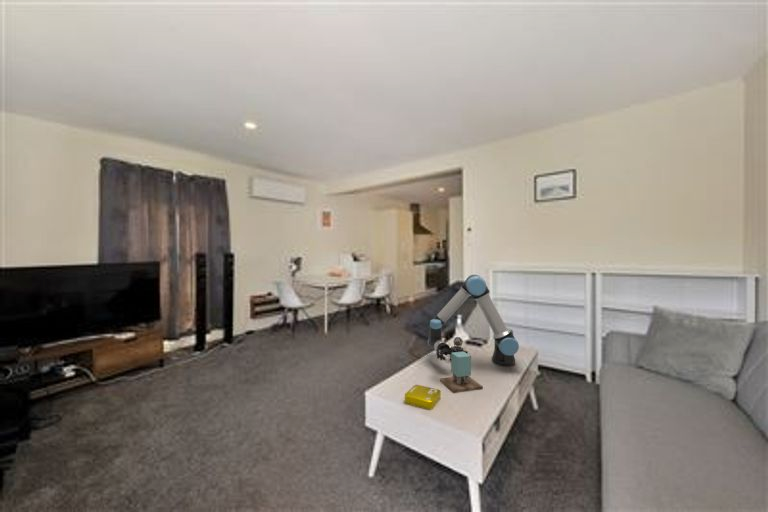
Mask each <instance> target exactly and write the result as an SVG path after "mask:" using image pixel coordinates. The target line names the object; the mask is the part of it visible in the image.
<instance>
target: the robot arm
mask: <svg viewBox="0 0 768 512" xmlns="http://www.w3.org/2000/svg"><path fill="white" fill-rule="evenodd" d="M490 292H491V291H490V289H489V288H488V286H487V283H486V280H484V278H483V277H481V276H480V275H478V274H471V275H469V276H468V277H467V278H466V279H465V280H464V282H463V283H462V285H461V286H460V289H459V290H458V291H457V292H456V293H455V294H454V296H453V297H451V299H450V300H449V301H448V302H447V303H446V304H445V306H443V308H442V309H441V310H440V311H439V312H438V313H437V314H436V316H435V317H434V318H432V319H430V321H429V338H428V339H427V345H428V346H429V347H430V348H431V349H432V350H434V351H435V354H436V359H437V360H440V361H444V362H446V363H447V364H450V357H448V355H449V356H450V355H451V353H454V352H465V353H467V354H469V351H468V350H464V349H463V350H460V349H457V348H454V349H451V347H450V345H449V344H447V343H446V342H445V341H443V340H442V327H443V326H444V325H445V323H447V321H448V320H449V319H450V318H451V316H453V314H454V313H455V312H456V311H457V310H458V309H459V308H460V307H461V306H462V305H463V303H465V301H466V300H467V299H468V298H469V297H471V298H472V300H473V301H475V302H477V304H478V306H479V309H480V310H481V311H482V314H483V316H484V318H485V319H486V321H487V323H488V324H489V327H490V329H491V330H492V332H493V337H492V338H493V339H494V349H493V352H492V353H493V354H492V356H491V362H492V363H493V364H494V365H495V364H496V365H497V366H498V365H499V366H503V367H508V366H509V367H511V366H515V365H516V358H515V355H516V354H517V353H518V352H519V351H518V350H520V349H519V348H520V345H519V342H518V340H517V339H516V338H515V336H514V330H513V329H512V328H508V327H507V326H506V325H505V322H504V320H503V319H502V316H501V315H500V313H499V311H498V309H497V307H496V305H495V304H494V302H493V300H492V298H491V297H490V294H491V293H490Z"/></svg>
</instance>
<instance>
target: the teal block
mask: <svg viewBox="0 0 768 512" xmlns="http://www.w3.org/2000/svg"><path fill="white" fill-rule="evenodd" d="M450 372H451V373H452V374H453V373H454V374H455V375H456V376H457V377H463V376H469V377H471V376H472V355H470V354H469V353H468V354H467V353H465V352H454V353H451V361H450Z"/></svg>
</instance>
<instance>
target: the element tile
mask: <svg viewBox="0 0 768 512" xmlns="http://www.w3.org/2000/svg"><path fill="white" fill-rule="evenodd" d="M441 395H442V394H441V390H440V389H438V388H434V387H430V386H426V385H425V386H424V385H420V384H414V385H413V386H412V387H411V388H410V389H409V390H408V391H407V392H406V393H404V403H405V402H406V403H408V404H407V405H410V404H412V405H411V406H413V405H415V406H414V407H417V406H418V407H419V408H421V409H424V410H425V409H426V410H434V408H435V407H436V405H437V404H438V403H439V402H440V400H441V399H442V398H441ZM406 403H405V404H406Z"/></svg>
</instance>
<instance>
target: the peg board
mask: <svg viewBox="0 0 768 512" xmlns="http://www.w3.org/2000/svg"><path fill="white" fill-rule="evenodd" d="M439 381H440V382H441V383H442V384H443V385H444V386H445V387H446V388H447V389H448V390H449V391H450V392H452V393H453V394H455V393H456V394H457V393H463V392H469V391H470V392H471V391H476V390H477V391H479V390H483V385H482V384H481V383H479V382H478V381H476V380H475V379H474V378H472V377H471V376H463V377H457V376H456V375H455V374H454V373H452V376H449V377H440V378H439Z"/></svg>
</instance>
